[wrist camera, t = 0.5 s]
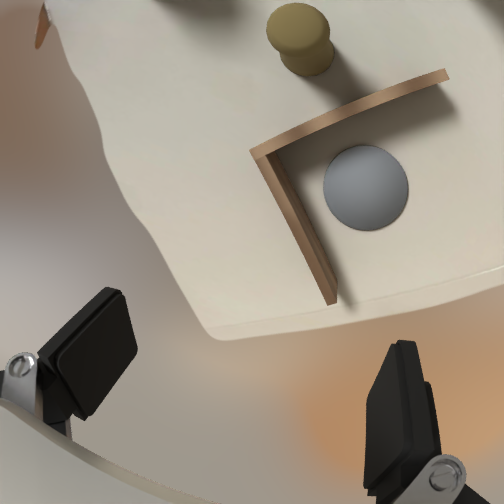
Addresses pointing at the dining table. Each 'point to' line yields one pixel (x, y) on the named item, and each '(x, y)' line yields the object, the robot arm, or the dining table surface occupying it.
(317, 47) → the cork
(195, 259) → the dining table surface
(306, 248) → the wooden corner wall
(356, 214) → the pad
